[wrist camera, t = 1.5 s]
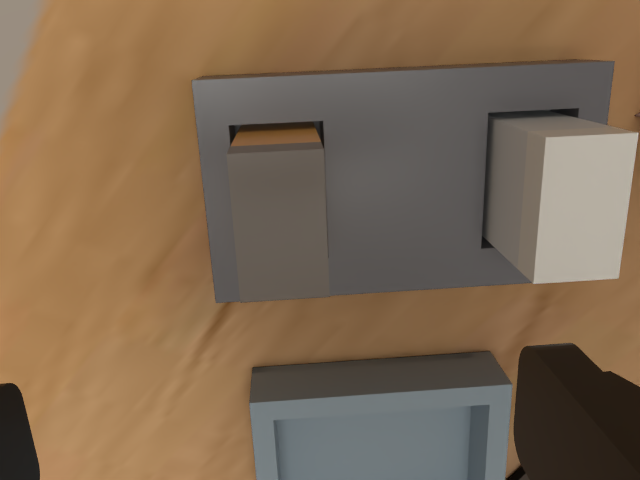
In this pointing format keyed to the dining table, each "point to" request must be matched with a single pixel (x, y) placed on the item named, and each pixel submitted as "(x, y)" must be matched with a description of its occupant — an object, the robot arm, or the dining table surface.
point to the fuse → (557, 194)
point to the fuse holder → (391, 161)
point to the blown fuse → (279, 211)
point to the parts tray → (382, 419)
